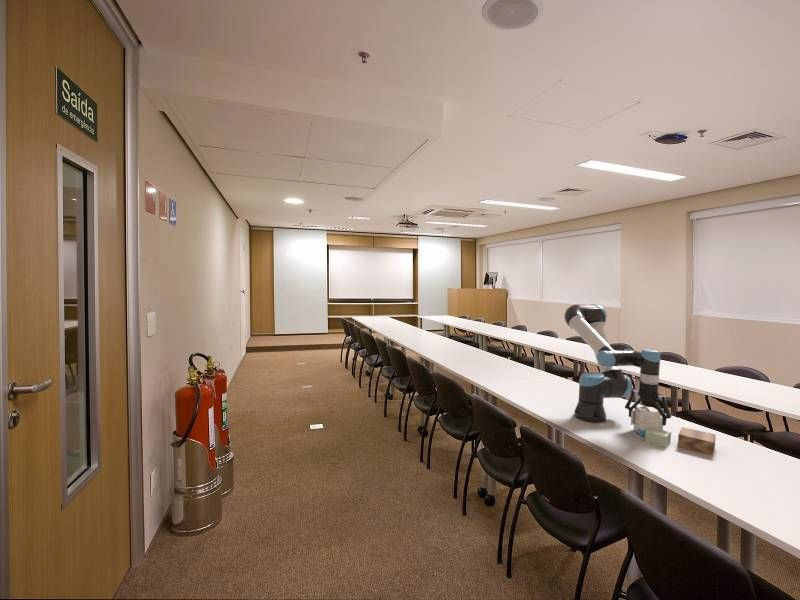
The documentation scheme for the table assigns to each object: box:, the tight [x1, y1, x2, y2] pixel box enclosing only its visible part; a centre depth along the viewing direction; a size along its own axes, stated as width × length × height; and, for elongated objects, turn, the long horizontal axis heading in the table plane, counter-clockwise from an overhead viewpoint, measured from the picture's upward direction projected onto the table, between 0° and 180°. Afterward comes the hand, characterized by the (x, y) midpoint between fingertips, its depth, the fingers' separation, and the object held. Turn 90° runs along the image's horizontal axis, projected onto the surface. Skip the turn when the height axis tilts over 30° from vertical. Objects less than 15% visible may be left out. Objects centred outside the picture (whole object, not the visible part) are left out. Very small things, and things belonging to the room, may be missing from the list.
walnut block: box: [677, 426, 717, 457], centre depth 168 cm, size 12×12×6 cm
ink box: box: [633, 403, 662, 437], centre depth 182 cm, size 9×8×13 cm
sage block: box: [644, 427, 672, 448], centre depth 172 cm, size 8×8×5 cm
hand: (646, 427), depth 182 cm, fingers closed on ink box, 11 cm apart
